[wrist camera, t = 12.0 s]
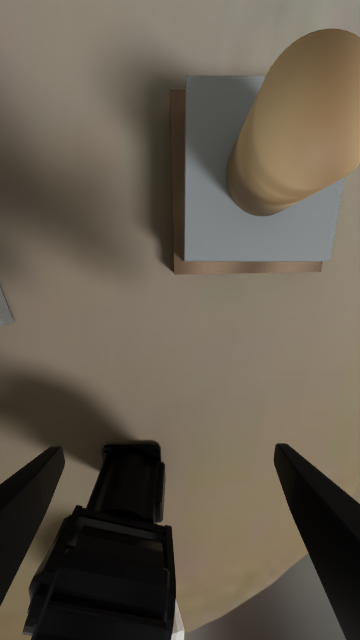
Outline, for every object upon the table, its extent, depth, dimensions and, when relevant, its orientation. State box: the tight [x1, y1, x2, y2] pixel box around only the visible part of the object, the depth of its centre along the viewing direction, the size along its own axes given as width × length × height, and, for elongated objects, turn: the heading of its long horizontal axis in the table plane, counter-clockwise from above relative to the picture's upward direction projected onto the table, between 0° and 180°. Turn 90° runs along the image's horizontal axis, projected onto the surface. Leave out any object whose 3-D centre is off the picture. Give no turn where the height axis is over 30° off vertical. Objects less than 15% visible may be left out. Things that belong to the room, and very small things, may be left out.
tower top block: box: [184, 75, 345, 262], centre depth 14 cm, size 10×10×2 cm
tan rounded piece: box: [226, 29, 360, 216], centre depth 10 cm, size 5×5×5 cm
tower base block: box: [170, 90, 322, 274], centre depth 16 cm, size 12×12×2 cm
